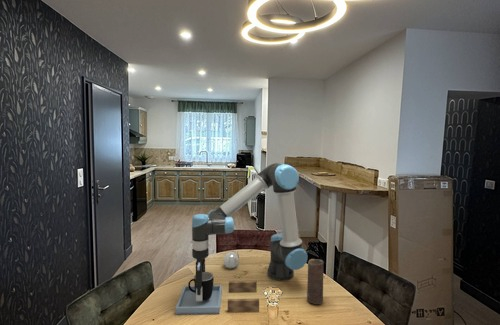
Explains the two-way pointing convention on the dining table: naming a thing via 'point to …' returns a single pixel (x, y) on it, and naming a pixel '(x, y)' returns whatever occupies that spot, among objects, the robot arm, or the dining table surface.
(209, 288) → the mug
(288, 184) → the robot arm
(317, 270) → the candle
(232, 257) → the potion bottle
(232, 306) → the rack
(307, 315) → the dining table surface
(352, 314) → the dining table surface
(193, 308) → the tray
